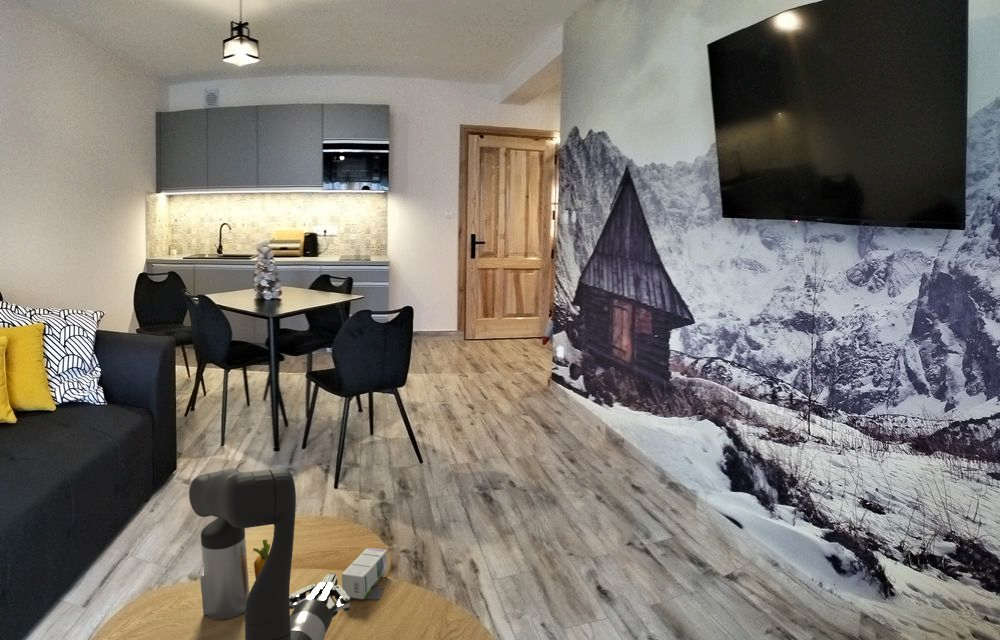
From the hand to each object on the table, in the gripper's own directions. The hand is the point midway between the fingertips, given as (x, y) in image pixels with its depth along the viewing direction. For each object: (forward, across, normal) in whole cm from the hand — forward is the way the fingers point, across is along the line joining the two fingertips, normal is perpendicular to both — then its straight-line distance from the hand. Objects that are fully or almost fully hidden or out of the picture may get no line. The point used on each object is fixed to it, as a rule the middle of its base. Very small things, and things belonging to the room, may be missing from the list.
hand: (332, 577), depth 137 cm
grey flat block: (+16, -2, +15) cm, 22 cm away
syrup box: (+14, 0, +11) cm, 17 cm away
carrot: (+13, +20, +15) cm, 28 cm away
